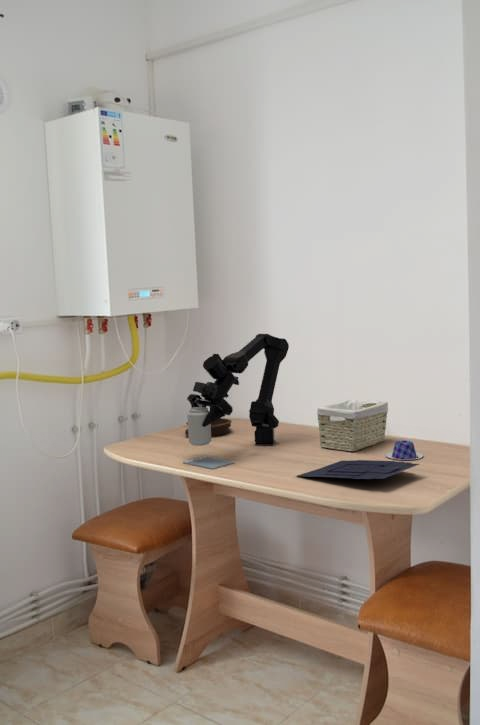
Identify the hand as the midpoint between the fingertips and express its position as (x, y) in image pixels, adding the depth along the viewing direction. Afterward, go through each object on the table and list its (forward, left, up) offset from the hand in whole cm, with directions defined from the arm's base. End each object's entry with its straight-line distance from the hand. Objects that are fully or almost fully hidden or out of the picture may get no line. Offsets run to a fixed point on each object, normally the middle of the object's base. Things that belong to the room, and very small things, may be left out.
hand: (196, 424), depth 251 cm
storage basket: (-50, -29, -13) cm, 59 cm away
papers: (-54, +14, -13) cm, 57 cm away
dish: (+7, -46, -13) cm, 48 cm away
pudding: (-67, -12, -13) cm, 69 cm away
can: (-1, -1, -7) cm, 7 cm away
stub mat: (-4, +1, -13) cm, 13 cm away
